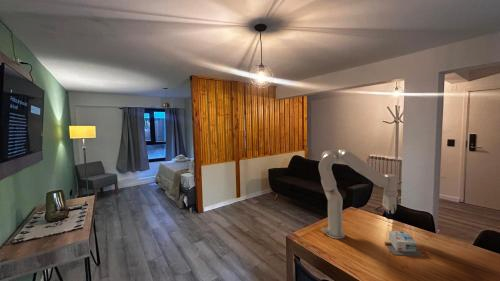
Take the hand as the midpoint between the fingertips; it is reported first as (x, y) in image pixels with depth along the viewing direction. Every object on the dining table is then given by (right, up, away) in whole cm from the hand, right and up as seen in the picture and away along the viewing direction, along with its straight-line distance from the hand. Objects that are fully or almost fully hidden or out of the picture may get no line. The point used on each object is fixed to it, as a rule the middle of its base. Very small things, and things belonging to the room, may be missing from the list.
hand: (389, 218), depth 146 cm
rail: (0, -14, -10) cm, 17 cm away
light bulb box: (0, -8, -7) cm, 11 cm away
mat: (-1, -14, -16) cm, 21 cm away
